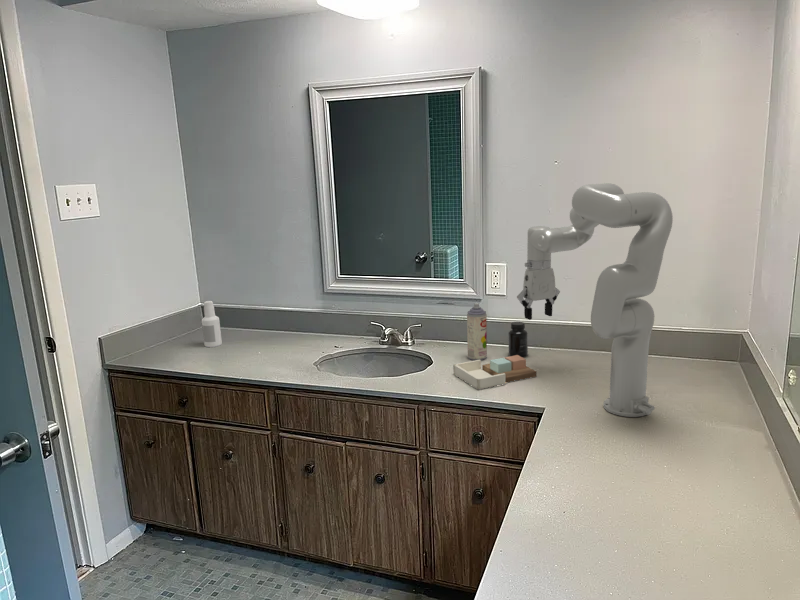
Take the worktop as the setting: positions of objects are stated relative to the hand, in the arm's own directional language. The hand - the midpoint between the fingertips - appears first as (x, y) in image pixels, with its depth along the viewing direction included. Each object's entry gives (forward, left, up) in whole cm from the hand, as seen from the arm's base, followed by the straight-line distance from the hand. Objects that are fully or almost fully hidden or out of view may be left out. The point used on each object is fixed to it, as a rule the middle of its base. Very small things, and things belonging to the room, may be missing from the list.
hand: (538, 316), depth 204 cm
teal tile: (0, +15, -16) cm, 22 cm away
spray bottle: (+86, +97, -18) cm, 130 cm away
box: (0, +23, -18) cm, 29 cm away
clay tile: (0, +9, -16) cm, 18 cm away
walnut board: (0, +12, -18) cm, 21 cm away
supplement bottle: (+14, -1, -18) cm, 23 cm away
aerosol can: (+19, +13, -18) cm, 29 cm away
